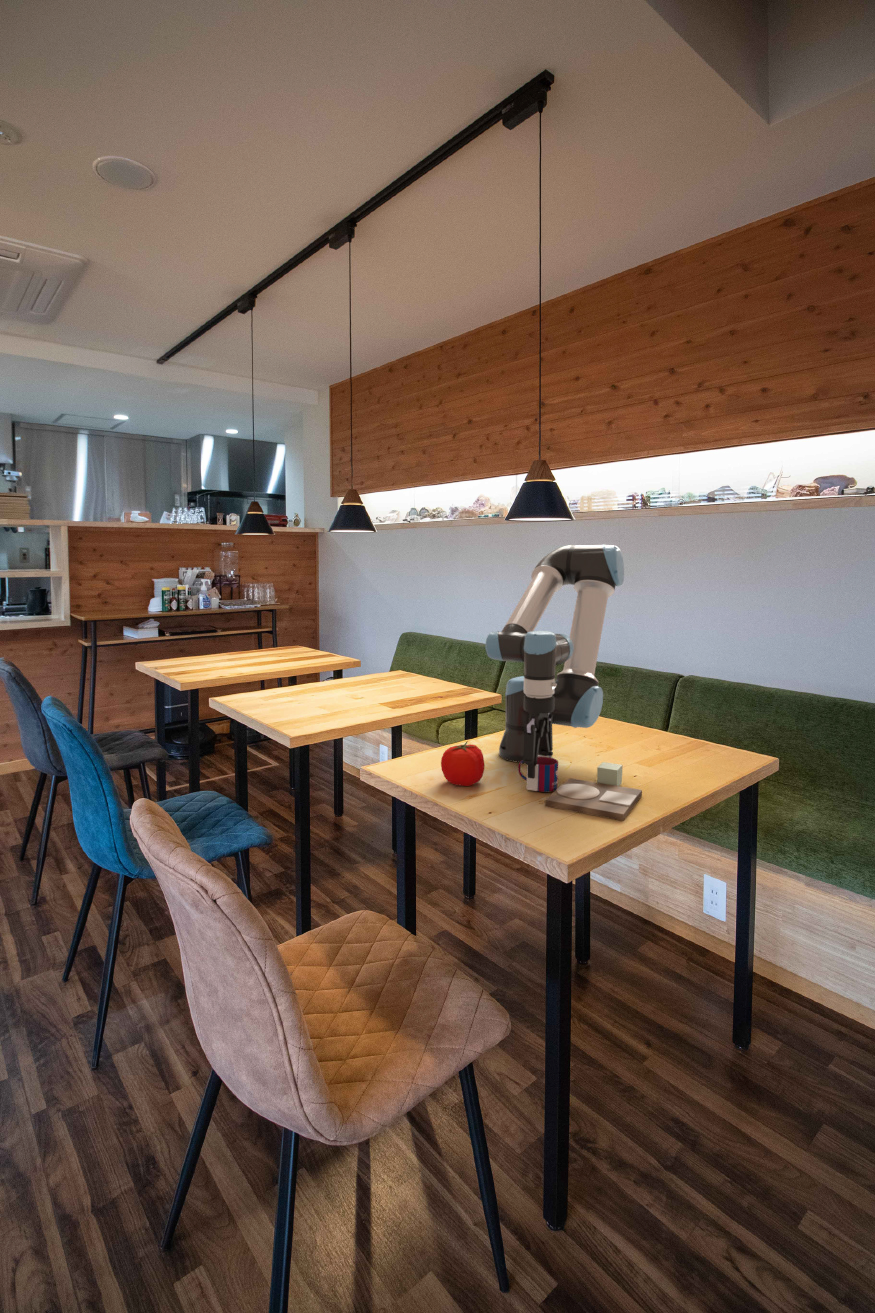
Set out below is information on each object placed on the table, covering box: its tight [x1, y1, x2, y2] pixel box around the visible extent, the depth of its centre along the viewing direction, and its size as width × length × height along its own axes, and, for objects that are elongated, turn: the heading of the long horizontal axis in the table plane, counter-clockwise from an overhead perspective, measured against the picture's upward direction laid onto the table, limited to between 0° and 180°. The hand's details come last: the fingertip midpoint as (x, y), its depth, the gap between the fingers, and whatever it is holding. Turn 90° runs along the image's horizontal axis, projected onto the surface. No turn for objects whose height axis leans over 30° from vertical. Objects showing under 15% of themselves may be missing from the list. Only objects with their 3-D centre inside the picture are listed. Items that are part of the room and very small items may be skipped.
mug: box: [517, 757, 559, 793], centre depth 167 cm, size 7×10×7 cm
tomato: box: [440, 740, 485, 787], centre depth 171 cm, size 11×13×10 cm
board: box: [544, 777, 643, 822], centre depth 159 cm, size 18×18×2 cm
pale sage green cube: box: [596, 761, 623, 786], centre depth 170 cm, size 5×5×5 cm
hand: (537, 785), depth 168 cm, fingers closed on mug, 7 cm apart
